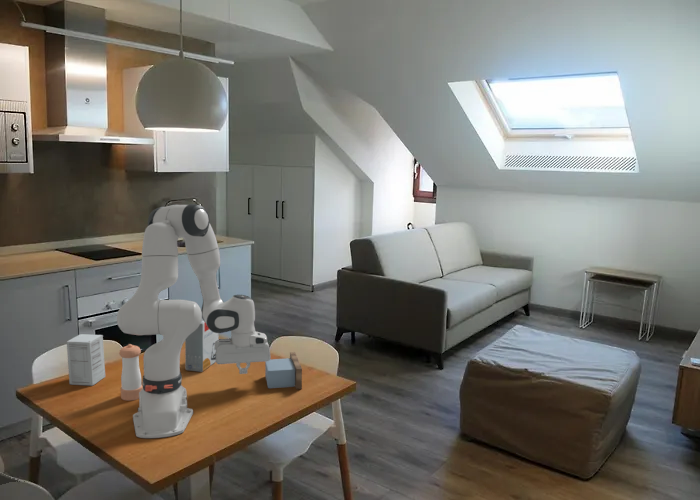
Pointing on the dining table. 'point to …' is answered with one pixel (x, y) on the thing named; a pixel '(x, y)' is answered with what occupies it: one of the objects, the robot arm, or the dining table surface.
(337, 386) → the dining table surface
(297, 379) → the board
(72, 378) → the supplement box
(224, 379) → the dining table surface
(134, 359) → the pepper shaker
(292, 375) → the slate block
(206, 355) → the hard drive box
